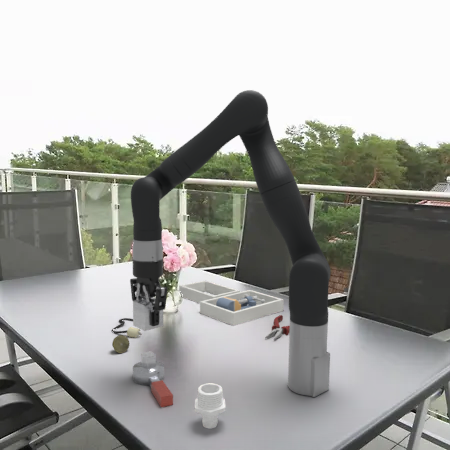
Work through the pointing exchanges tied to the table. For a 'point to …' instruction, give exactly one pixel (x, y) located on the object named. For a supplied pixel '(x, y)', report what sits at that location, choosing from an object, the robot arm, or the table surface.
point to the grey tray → (197, 290)
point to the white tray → (243, 315)
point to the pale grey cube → (144, 315)
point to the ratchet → (153, 378)
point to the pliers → (278, 328)
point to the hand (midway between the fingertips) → (148, 322)
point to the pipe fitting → (210, 404)
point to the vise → (237, 303)
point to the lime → (120, 343)
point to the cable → (131, 331)
